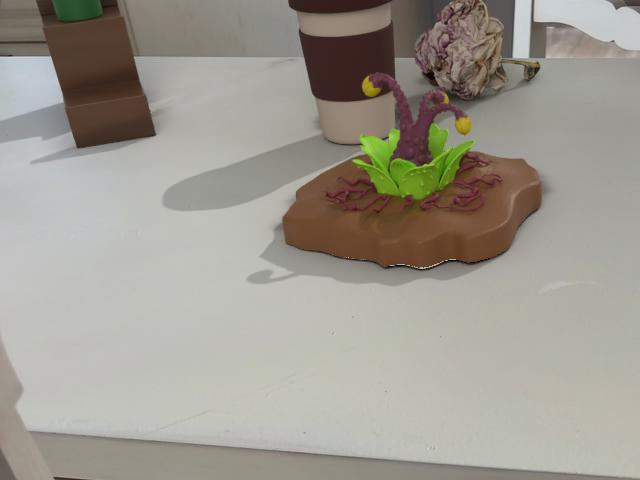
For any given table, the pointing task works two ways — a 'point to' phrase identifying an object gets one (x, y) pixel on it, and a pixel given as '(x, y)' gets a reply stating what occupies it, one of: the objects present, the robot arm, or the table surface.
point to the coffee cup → (348, 64)
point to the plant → (414, 194)
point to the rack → (97, 76)
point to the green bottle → (77, 9)
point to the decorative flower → (465, 51)
